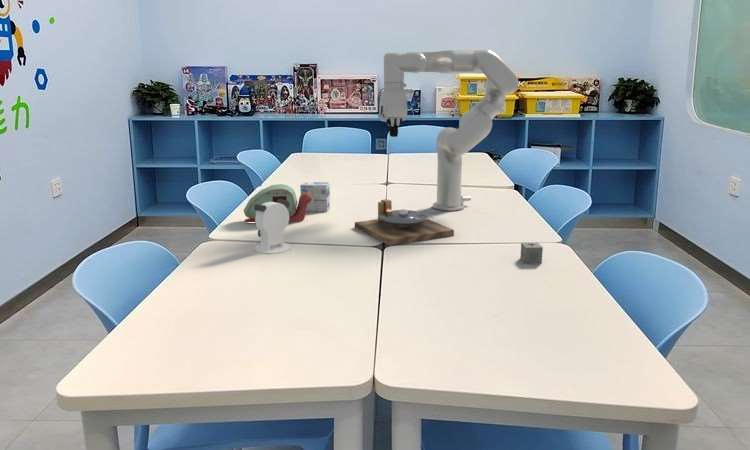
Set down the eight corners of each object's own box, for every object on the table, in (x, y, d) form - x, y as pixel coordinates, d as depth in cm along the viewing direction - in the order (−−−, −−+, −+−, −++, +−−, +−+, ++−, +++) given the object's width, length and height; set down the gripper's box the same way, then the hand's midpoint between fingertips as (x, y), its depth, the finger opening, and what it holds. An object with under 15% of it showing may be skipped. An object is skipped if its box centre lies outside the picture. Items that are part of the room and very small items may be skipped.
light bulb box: (330, 208, 258) (330, 181, 255) (327, 212, 252) (327, 185, 249) (304, 207, 259) (303, 181, 256) (300, 211, 253) (299, 184, 250)
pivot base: (415, 219, 241) (415, 195, 238) (453, 235, 219) (454, 209, 217) (354, 227, 229) (354, 203, 227) (389, 245, 208) (389, 218, 206)
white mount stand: (275, 240, 214) (273, 196, 210) (299, 247, 207) (298, 201, 203) (247, 249, 205) (244, 203, 201) (271, 256, 198) (269, 208, 194)
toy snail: (243, 225, 233) (241, 187, 230) (244, 219, 241) (242, 183, 237) (312, 222, 236) (311, 185, 233) (312, 217, 244) (311, 181, 240)
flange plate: (436, 219, 222) (436, 205, 221) (401, 227, 212) (401, 212, 211) (400, 209, 236) (400, 196, 235) (366, 216, 226) (365, 203, 225)
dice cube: (536, 258, 196) (537, 242, 194) (541, 263, 191) (542, 247, 189) (520, 258, 195) (521, 242, 194) (524, 263, 191) (525, 247, 189)
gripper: (405, 86, 248) (405, 134, 253) (371, 87, 241) (371, 136, 246) (416, 87, 241) (415, 136, 246) (381, 88, 235) (381, 138, 239)
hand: (393, 136), depth 246 cm, fingers closed
